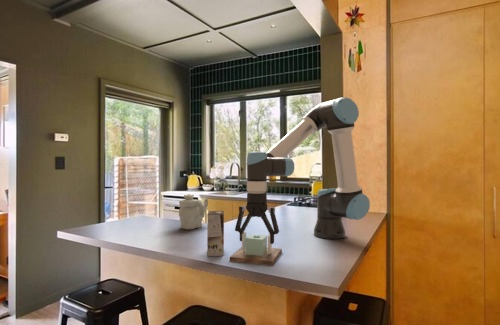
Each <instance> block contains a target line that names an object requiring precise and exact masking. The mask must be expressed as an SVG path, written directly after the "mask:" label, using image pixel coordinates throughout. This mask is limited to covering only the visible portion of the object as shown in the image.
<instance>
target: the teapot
mask: <svg viewBox="0 0 500 325" xmlns="http://www.w3.org/2000/svg"><path fill="white" fill-rule="evenodd" d="M194 197H195V194H190V193H188V194H184V195H183V198H184V199H182V200H179V202H178V204H179V209H178V216H179V221H180V228H181V229H184V230H194V229H196V228H197V229H199V228H201V227H203V219H204V218H205V214H206V212H207V208H208V204H209V200H208V199H209V198H207V197H205V198H204V201H203V200H201V199H194Z"/></svg>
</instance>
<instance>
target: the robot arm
mask: <svg viewBox="0 0 500 325" xmlns="http://www.w3.org/2000/svg"><path fill="white" fill-rule="evenodd" d="M359 112H360V111H359V107H358V105H357V104H356V102H355V101H354V100H352V99H351V98H349V97H337V98H335V99H332V100H328V101H324V102H321V103H320V102H319V104H317V105H316V106H314V107H313V108H312V109H311V110H309V111H308V112H307V113H306V114H305V115H304V116H302V117H301V119H300V122H299V123H298V124H297V125H296V126H294V128H292V129H291V130H290V131H289V132H288V133H287V134H286V135H285V136H283V137H282V138H281V139H280V140H279V141H278V142H277V143H275V144H274V145H273V146H272V147H271V148H270V149H269V150H267V151H249V152H248V153H247V156H246V157H247V158H246V192H247V193H246V205H239V207H238V212H239V213H238V216H237V220H236V225H235V228H234V231H235V232H238V233H239V242H241V247H242V251H244V250H245V249H246V238H247V232H245V230H246V228H247V227H248V225H249V223H250V221H251V219H252V218H255V217H256V218H260V219H261V220H262V221H263V223H264V225H265V227H266V230H267V231H268V233H269V234H268V235H267V248H268V253H271V251H272V248H273V246H272V245H273V244H274V243H275V235H278V234H279V232H280V230H279V225H278V221H277V218H276V217H277V216H276V213H275V212H276V208H275V206H268V204H267V203H268V201H267V200H268V199H267V196H268V194H267V191H268V188H267V186H268V183H267V182H268V181H267V178H268V177H290V176H291V175H292V176H293V174H294V172H295V162H294V160H293V159H292V158H291V157H288V156H289V155H290V154H291V153H292V152H293V151H294V150H296V149H297V148H298V147H299V146H300V145H302V143H303V142H305V141H306V140H307V138H308V137H310V136H311V135H313V134H316V133H317V132H318V131H320V130H322V129H325V128H326V131H327V132H328V133H329V134H330V135H331V141H332V142H331V143H332V148H333V158H334V164H335V172H336V179H337V187H336V188H323V189H318V191H317V196H316V204H317V205H316V208H317V217H316V218H317V219H316V223H315V225H314V228H313V236H314V237H317V238H321V239H329V240H330V239H331V240H337V239H338V240H339V239H344V238H346V233H347V232H346V230H345V229H346V228H345V226H344V223H343V218H344V219H349V220H355V221H360V220H362V219H364V217H366V216H367V214H368V213H369V210H370V206H371V202H370V198H369V197H368V196H367V195H366V194H364V192H363V188H362V186H360V185H359V182H358V176H357V174H358V173H357V167H356V158H355V150H354V143H353V135H352V134H353V133H352V132H353V130H354V128H355V123H356V122H357V120H358V118H359V114H360V113H359ZM246 211H247V212H248V213H247V215H246V218H245V220H244V221H243V217H244V214H245V212H246ZM267 211H268V213H269V215H270V220H269V218H268V216H267V214H266V212H267ZM270 221H271V222H270ZM242 222H243V224H242ZM271 223H272V225H271ZM241 225H242V226H241Z"/></svg>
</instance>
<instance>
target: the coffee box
mask: <svg viewBox="0 0 500 325" xmlns="http://www.w3.org/2000/svg"><path fill="white" fill-rule="evenodd" d="M224 213H225V211H224V210H209V211H208V212H207V214H206V217H207V218H206V219H207V222H206V223H207V226H206V227H207V232H206V234H207V238H206V239H207V240H206V242H207V244H206V245H207V246H206V247H207V249H206V250H207V252H206V253H207V257H222V256H224V247H225V246H224V245H225V244H224V243H225V214H224Z"/></svg>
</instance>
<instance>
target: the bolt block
mask: <svg viewBox="0 0 500 325" xmlns="http://www.w3.org/2000/svg"><path fill="white" fill-rule="evenodd" d="M282 253H283V251H282V248H279V247H277V248H276V247H272V251H271V253H268V247H267V252H266V253H265V254H264V255H263V256H257V255H247V254H246V249H245V250H244V251H242V246H241V247H240V248H239V249H238V250H236V251H235V252H234V253H233V254H232V255H230V256H229V262H236V263H243V264H245V263H246V264H255V265H256V264H257V265H263V266H264V265H265V266H272V267H273V266H274V264H276V262H277V260H278V259H279V257H280V256H281V254H282Z"/></svg>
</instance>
